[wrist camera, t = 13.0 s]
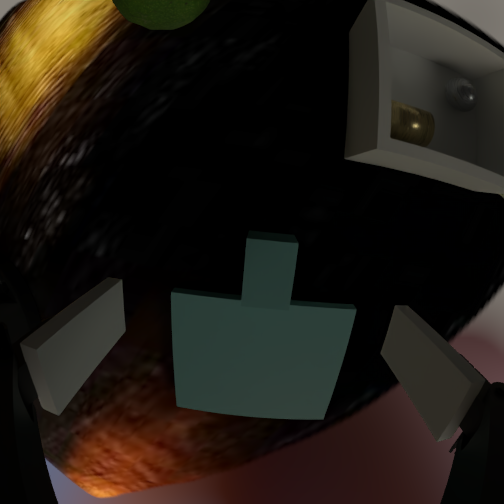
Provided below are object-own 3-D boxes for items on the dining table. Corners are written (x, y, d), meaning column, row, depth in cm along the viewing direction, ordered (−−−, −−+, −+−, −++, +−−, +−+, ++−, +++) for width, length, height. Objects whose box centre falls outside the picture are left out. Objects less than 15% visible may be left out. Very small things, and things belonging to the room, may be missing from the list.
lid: (181, 393, 27) (174, 412, 24) (179, 224, 23) (167, 231, 20) (320, 406, 27) (324, 426, 24) (361, 242, 22) (373, 251, 19)
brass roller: (371, 131, 20) (384, 138, 17) (376, 96, 18) (391, 98, 16) (413, 142, 20) (430, 151, 17) (419, 109, 18) (437, 113, 16)
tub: (344, 158, 21) (376, 148, 14) (348, 32, 18) (373, -10, 11) (474, 191, 21) (524, 196, 14) (473, 78, 18) (515, 61, 11)
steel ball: (438, 108, 19) (458, 100, 15) (437, 77, 18) (455, 67, 15) (464, 119, 19) (485, 113, 15) (463, 88, 18) (482, 81, 15)
